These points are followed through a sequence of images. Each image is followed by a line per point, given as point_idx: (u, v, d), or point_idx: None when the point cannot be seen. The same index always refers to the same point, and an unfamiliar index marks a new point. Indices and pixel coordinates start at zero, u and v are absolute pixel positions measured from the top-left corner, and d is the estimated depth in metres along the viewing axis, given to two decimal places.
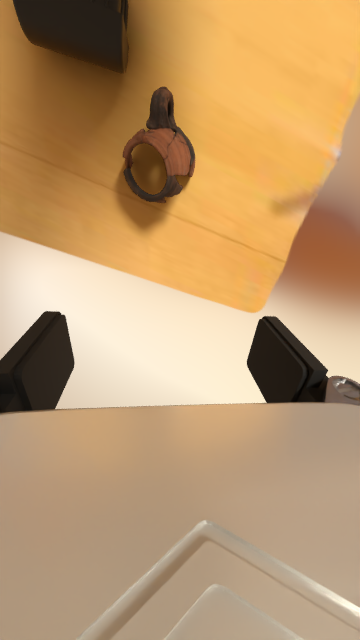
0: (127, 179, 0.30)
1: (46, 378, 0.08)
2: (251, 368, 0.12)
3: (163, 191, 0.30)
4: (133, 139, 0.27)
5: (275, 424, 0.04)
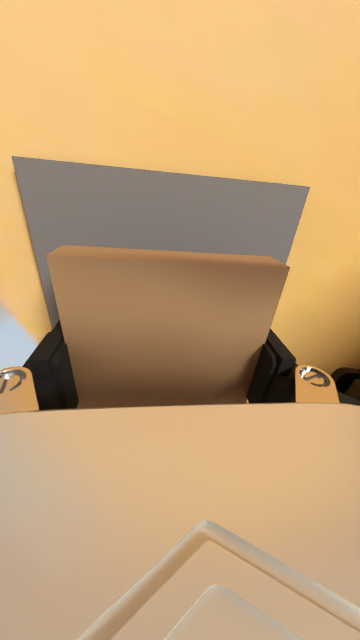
0: None
1: None
2: None
3: None
4: None
5: (276, 424, 0.04)
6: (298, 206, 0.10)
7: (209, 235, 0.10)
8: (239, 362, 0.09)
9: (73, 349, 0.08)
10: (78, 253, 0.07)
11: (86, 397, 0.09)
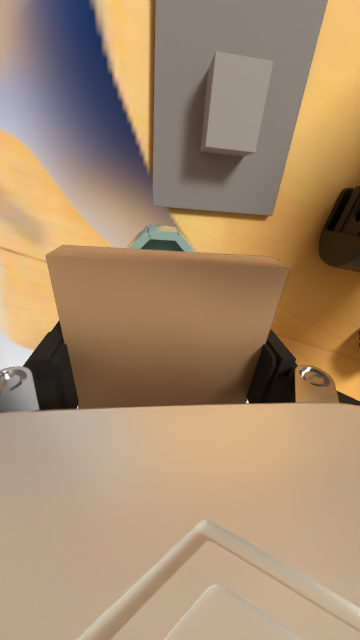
0: None
1: None
2: None
3: None
4: None
5: (276, 424, 0.04)
6: (321, 13, 0.16)
7: (263, 34, 0.16)
8: (240, 362, 0.09)
9: (73, 349, 0.08)
10: (78, 253, 0.07)
11: (86, 397, 0.09)
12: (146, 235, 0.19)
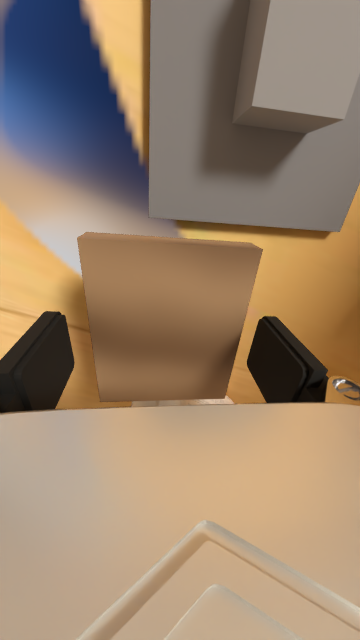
0: None
1: (46, 378, 0.08)
2: (251, 368, 0.12)
3: None
4: None
5: (276, 424, 0.04)
6: None
7: None
8: (226, 329, 0.11)
9: (93, 314, 0.10)
10: (100, 237, 0.09)
11: (101, 357, 0.11)
12: None
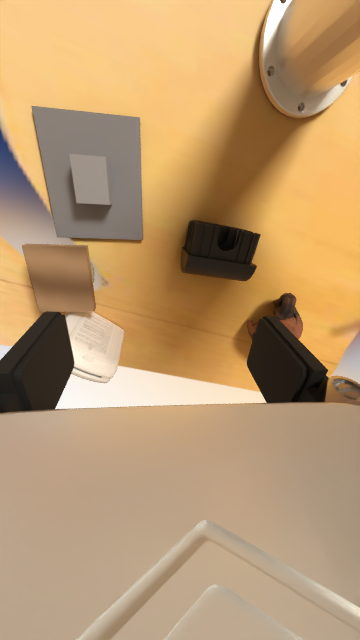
0: None
1: (46, 378, 0.08)
2: (251, 368, 0.12)
3: None
4: None
5: (276, 424, 0.04)
6: (137, 125, 0.27)
7: (105, 138, 0.27)
8: (82, 277, 0.30)
9: (30, 272, 0.29)
10: (29, 245, 0.28)
11: (36, 290, 0.30)
12: None
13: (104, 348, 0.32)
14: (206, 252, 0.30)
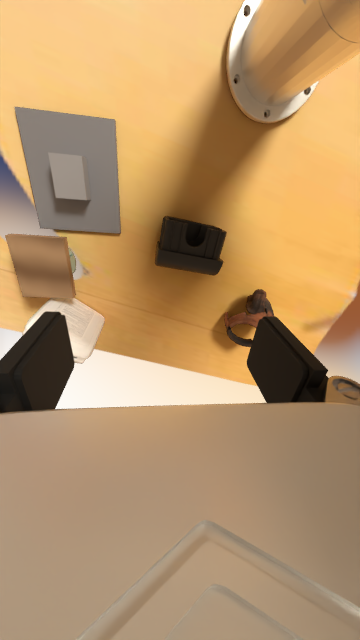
0: (229, 335, 0.44)
1: (46, 378, 0.08)
2: (251, 368, 0.12)
3: None
4: (240, 321, 0.41)
5: (276, 424, 0.04)
6: (113, 127, 0.29)
7: (83, 137, 0.30)
8: (61, 266, 0.33)
9: (14, 259, 0.32)
10: (12, 235, 0.31)
11: (19, 276, 0.33)
12: None
13: (81, 332, 0.35)
14: (175, 247, 0.33)
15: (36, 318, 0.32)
